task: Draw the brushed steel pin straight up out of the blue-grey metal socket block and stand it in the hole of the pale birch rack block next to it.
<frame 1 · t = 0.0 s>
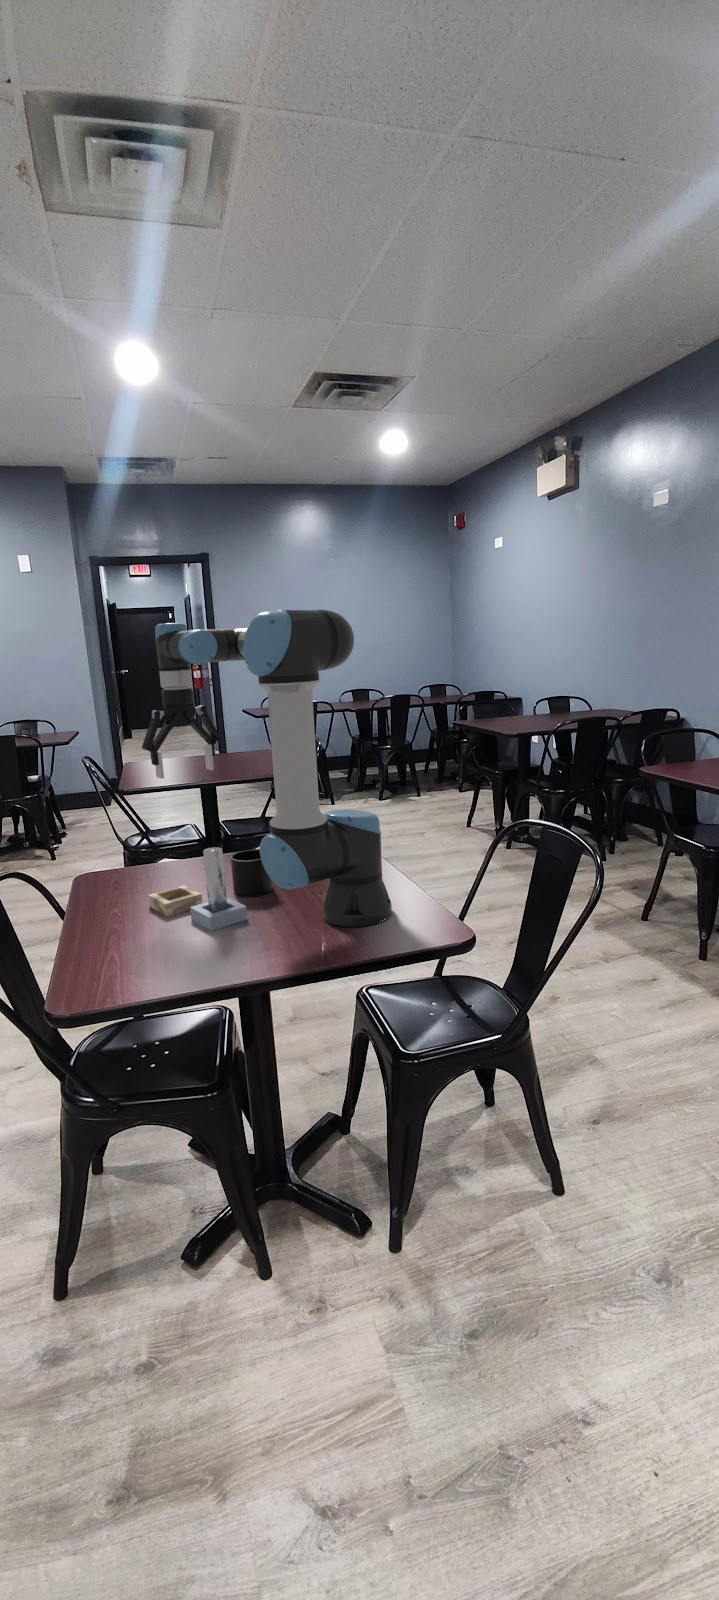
hand: (185, 773, 181), 28 cm above the table, tool pointing down, fingers open, 13 cm apart
socket block: (219, 919, 159), on the table
rack block: (176, 906, 169), on the table
mug: (252, 889, 178), on the table
pin: (216, 885, 157), in the socket block
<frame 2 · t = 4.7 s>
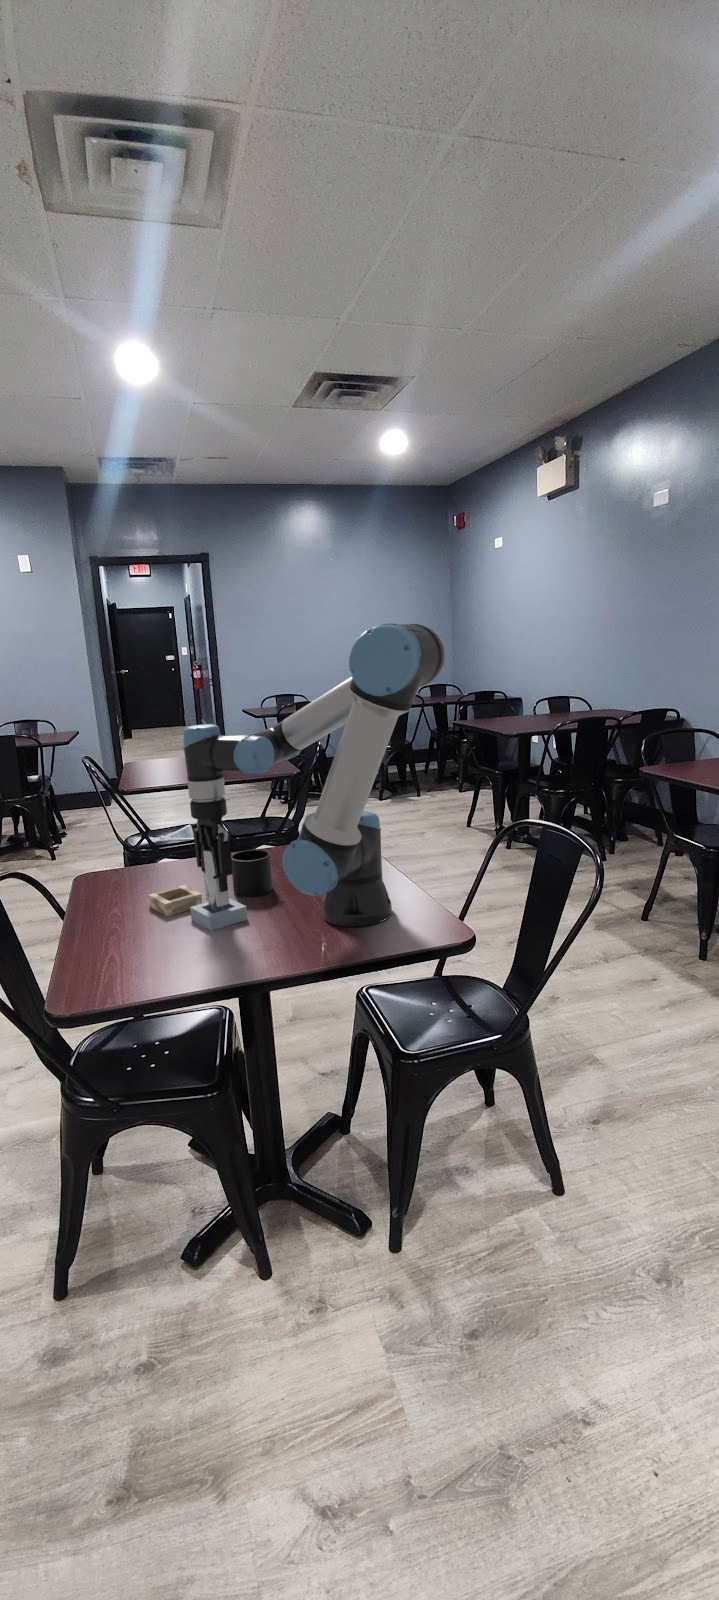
hand: (217, 901, 158), 4 cm above the table, tool pointing down, fingers closed on pin, 4 cm apart
pin: (216, 885, 157), in the socket block, touching gripper
everything else where it was.
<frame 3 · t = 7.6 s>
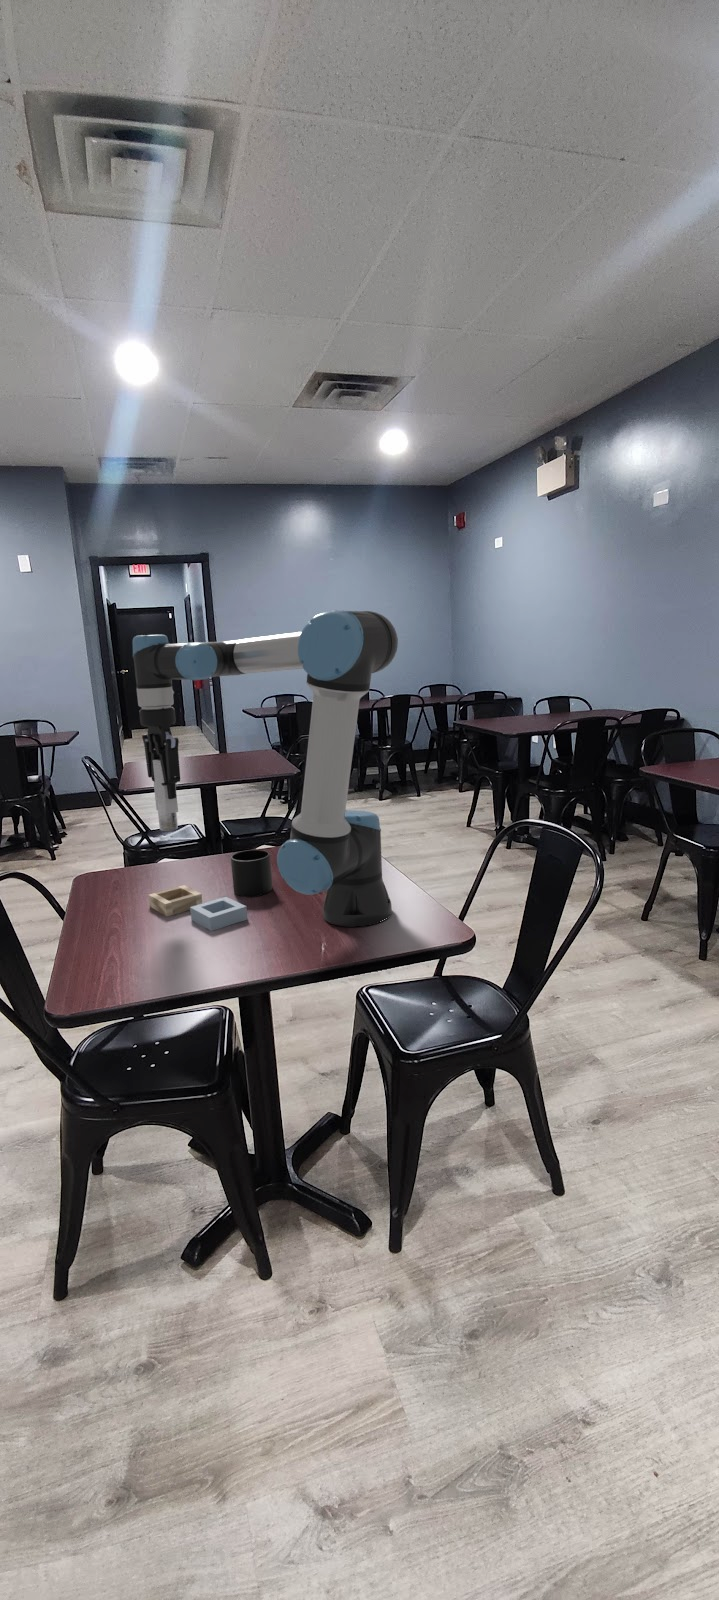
hand: (167, 810, 163), 23 cm above the table, tool pointing down, fingers closed on pin, 4 cm apart
pin: (165, 794, 162), point 27 cm above the table, touching gripper
everything else where it was.
when the fingers open (6 cm above the table, at t = 10.9 s): pin stays where it is, resting in rack block.
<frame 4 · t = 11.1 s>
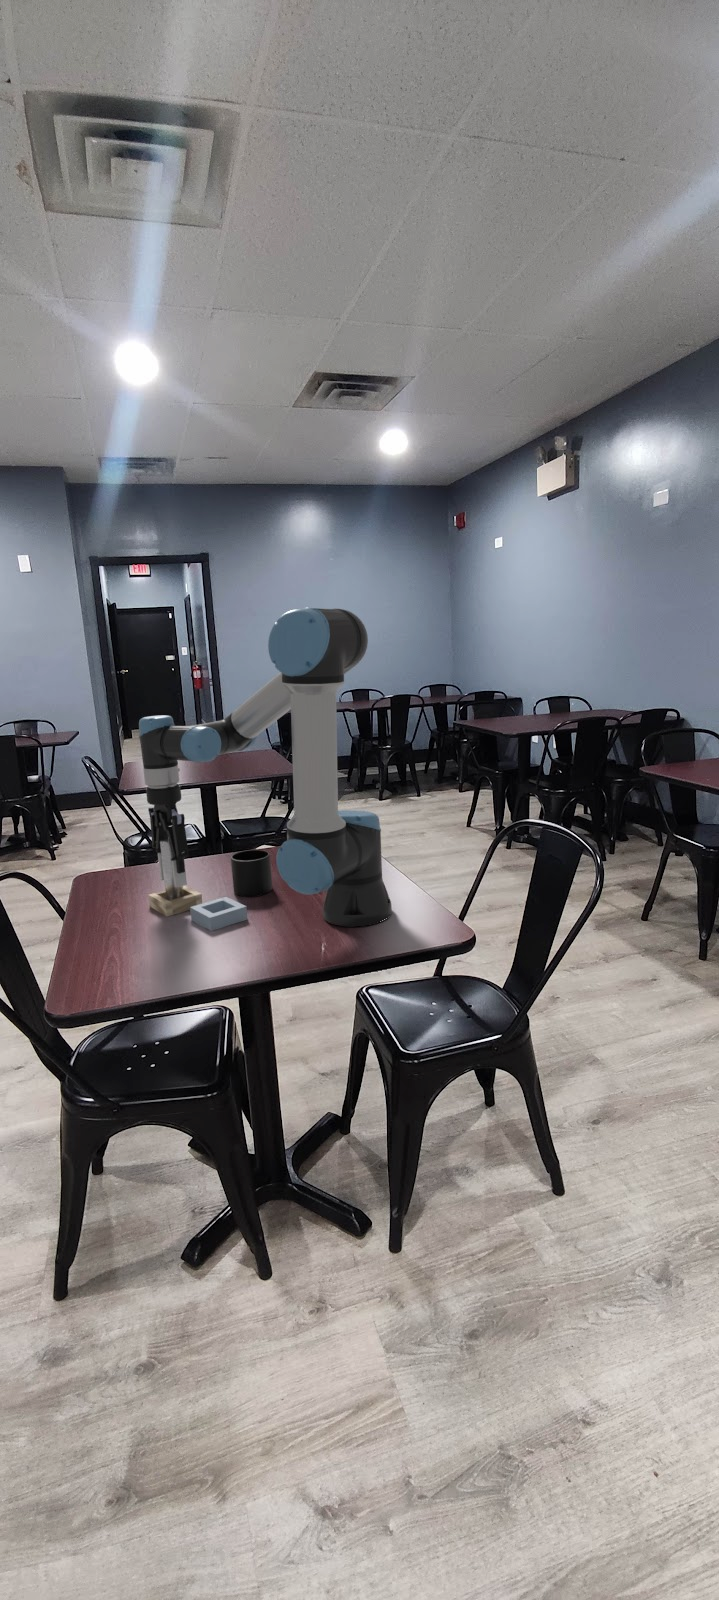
hand: (173, 882, 167), 6 cm above the table, tool pointing down, fingers open, 7 cm apart
pin: (172, 873, 167), in the rack block
everything else where it was.
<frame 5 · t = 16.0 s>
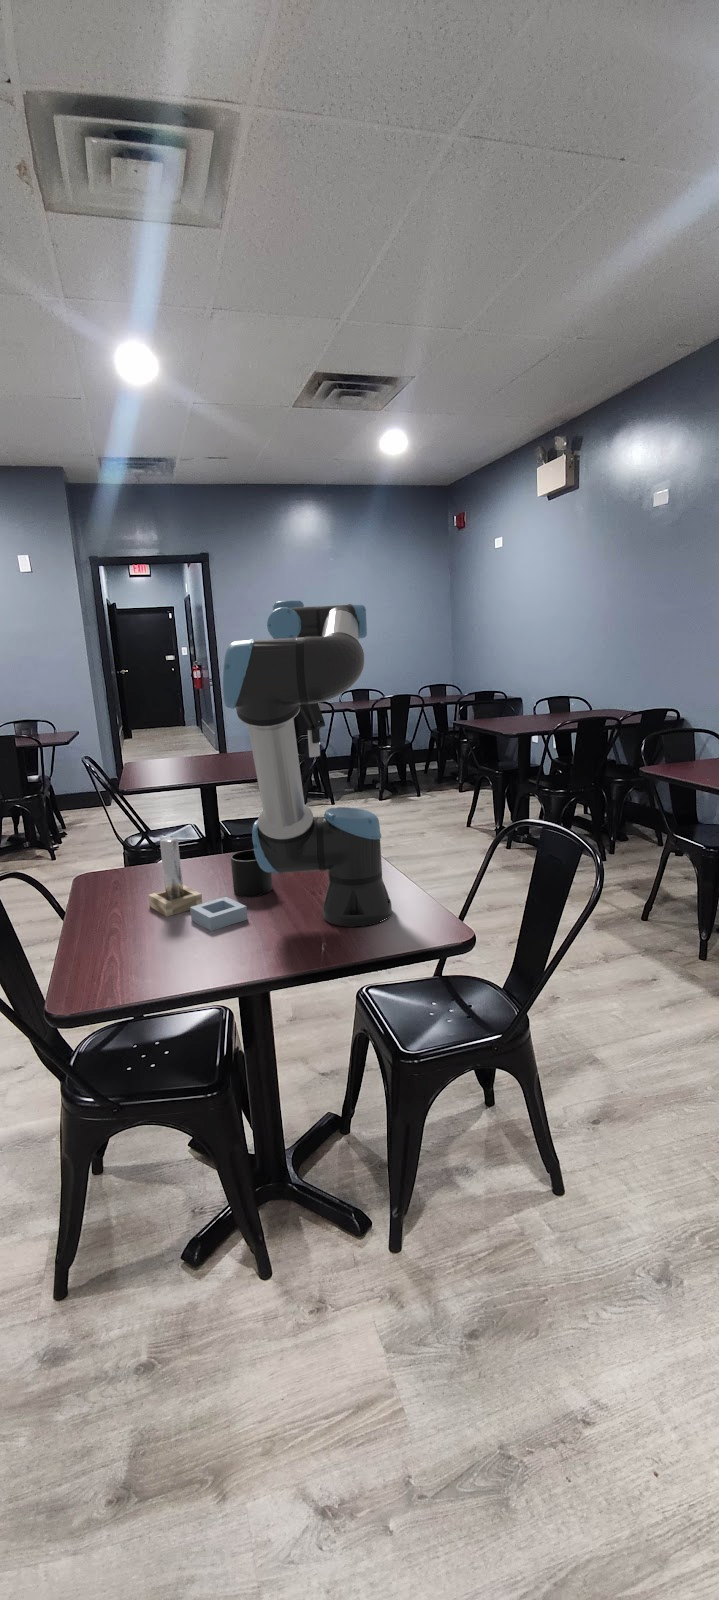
hand: (298, 754, 179), 32 cm above the table, tool pointing down, fingers open, 13 cm apart
nothing on the table moved.
at the end: pin 0.0 cm off-centre on the rack block, point 8.0 cm above the rack block's base; pin tilted 0°; the gripper is holding nothing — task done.
